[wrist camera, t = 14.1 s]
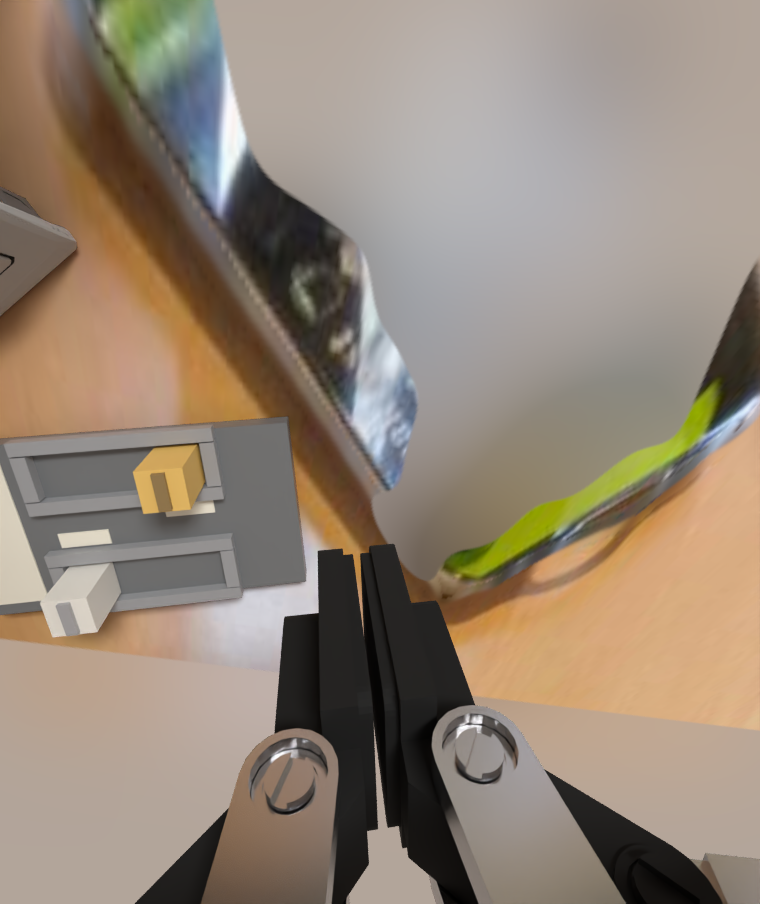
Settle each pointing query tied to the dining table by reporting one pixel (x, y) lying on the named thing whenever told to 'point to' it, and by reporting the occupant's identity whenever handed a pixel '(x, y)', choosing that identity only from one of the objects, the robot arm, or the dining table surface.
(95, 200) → the dining table surface
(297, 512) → the switch board
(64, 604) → the white tab
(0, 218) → the electrical switch
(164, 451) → the yellow block with tab
